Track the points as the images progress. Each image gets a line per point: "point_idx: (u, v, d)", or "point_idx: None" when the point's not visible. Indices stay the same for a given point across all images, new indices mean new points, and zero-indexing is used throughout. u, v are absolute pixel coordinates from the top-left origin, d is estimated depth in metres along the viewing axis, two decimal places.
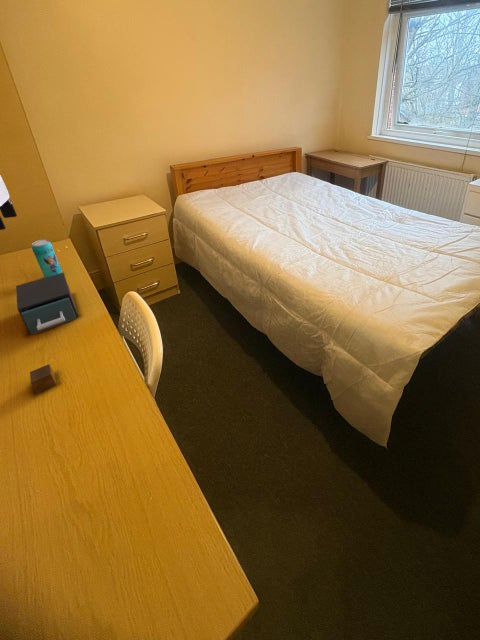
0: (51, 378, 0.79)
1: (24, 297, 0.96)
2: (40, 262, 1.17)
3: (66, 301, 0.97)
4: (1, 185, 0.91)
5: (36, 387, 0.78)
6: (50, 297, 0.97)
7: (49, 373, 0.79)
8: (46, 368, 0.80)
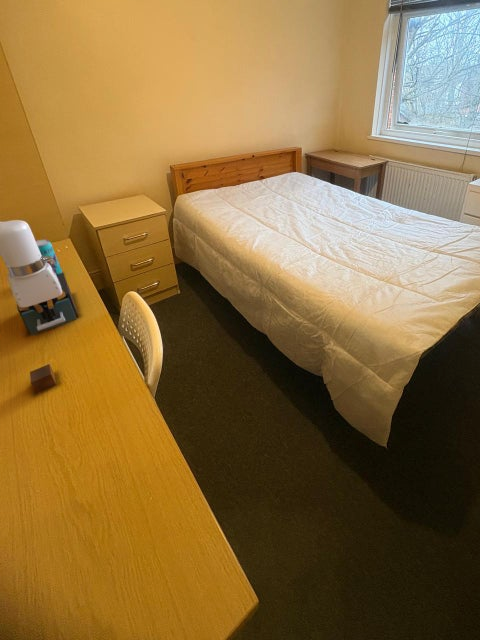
0: (51, 378, 0.79)
1: None
2: None
3: (66, 301, 0.97)
4: (41, 287, 0.87)
5: (36, 387, 0.78)
6: None
7: (49, 373, 0.79)
8: (46, 368, 0.80)
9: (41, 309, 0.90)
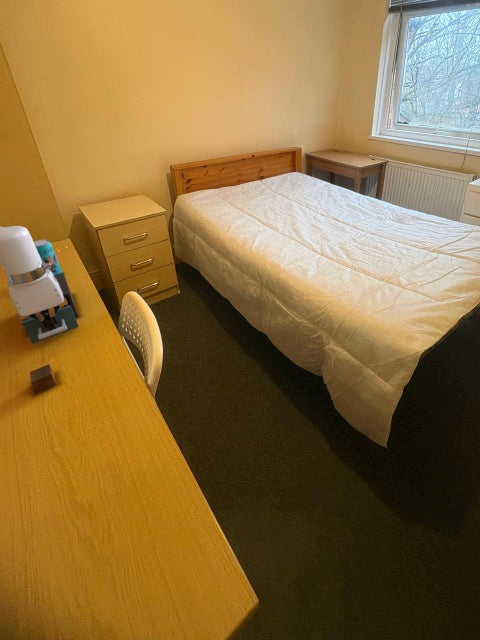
0: (51, 378, 0.79)
1: None
2: None
3: (68, 309, 0.94)
4: (42, 295, 0.84)
5: (36, 387, 0.78)
6: None
7: (49, 373, 0.79)
8: (46, 368, 0.80)
9: (42, 317, 0.87)
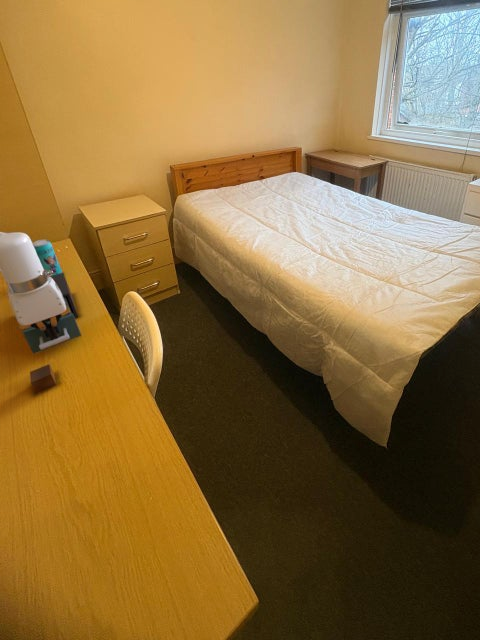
0: (51, 378, 0.79)
1: None
2: None
3: (70, 317, 0.91)
4: (43, 304, 0.81)
5: (36, 387, 0.78)
6: None
7: (49, 373, 0.79)
8: (46, 368, 0.80)
9: (44, 327, 0.84)
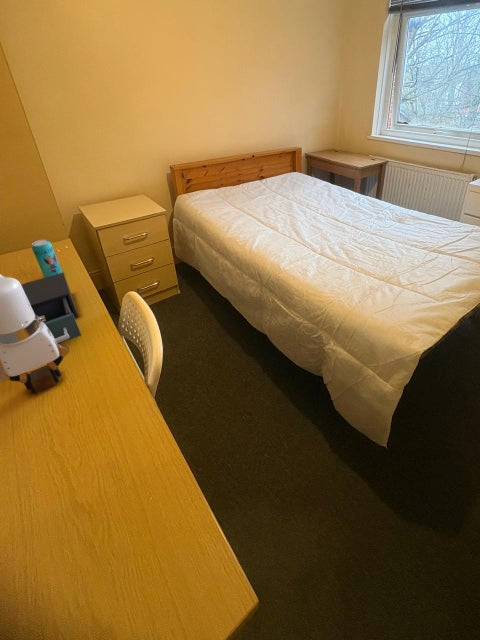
0: (51, 378, 0.79)
1: None
2: (40, 262, 1.17)
3: (70, 317, 0.91)
4: (34, 352, 0.74)
5: (36, 387, 0.78)
6: (50, 297, 0.97)
7: (49, 373, 0.79)
8: (46, 368, 0.80)
9: (25, 379, 0.76)
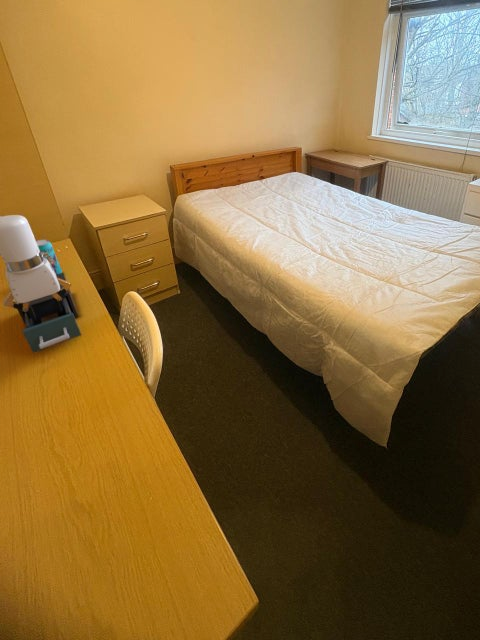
0: None
1: None
2: None
3: (70, 317, 0.91)
4: (39, 283, 0.86)
5: None
6: (50, 297, 0.97)
7: None
8: (54, 315, 0.95)
9: (26, 308, 0.88)
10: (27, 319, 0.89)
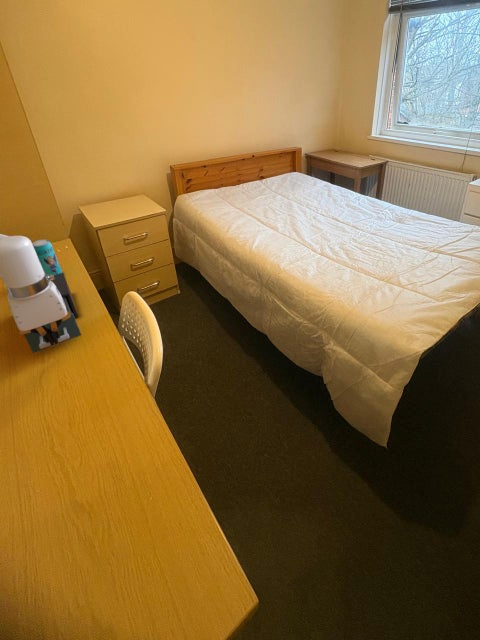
0: None
1: None
2: (40, 262, 1.17)
3: (70, 317, 0.91)
4: (44, 308, 0.79)
5: None
6: None
7: None
8: None
9: (44, 332, 0.82)
10: None
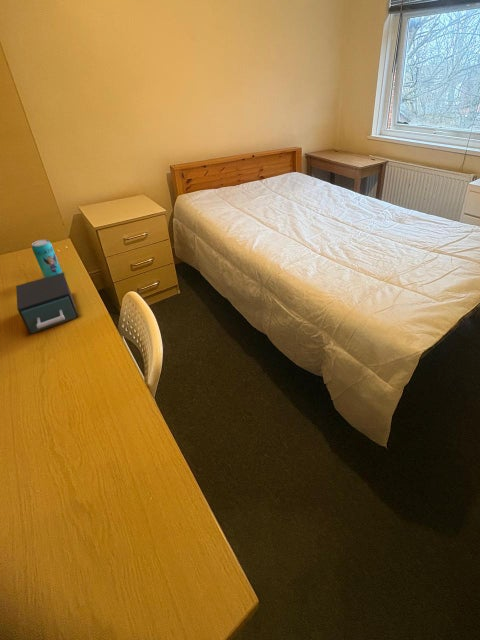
0: None
1: (24, 297, 0.96)
2: (40, 262, 1.17)
3: (66, 300, 0.98)
4: None
5: None
6: (50, 297, 0.97)
7: None
8: None
9: None
10: None
